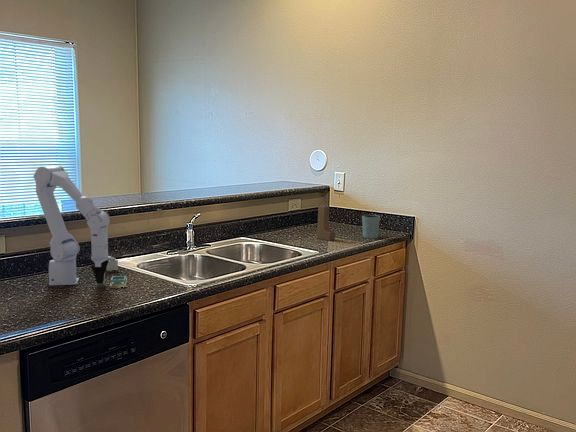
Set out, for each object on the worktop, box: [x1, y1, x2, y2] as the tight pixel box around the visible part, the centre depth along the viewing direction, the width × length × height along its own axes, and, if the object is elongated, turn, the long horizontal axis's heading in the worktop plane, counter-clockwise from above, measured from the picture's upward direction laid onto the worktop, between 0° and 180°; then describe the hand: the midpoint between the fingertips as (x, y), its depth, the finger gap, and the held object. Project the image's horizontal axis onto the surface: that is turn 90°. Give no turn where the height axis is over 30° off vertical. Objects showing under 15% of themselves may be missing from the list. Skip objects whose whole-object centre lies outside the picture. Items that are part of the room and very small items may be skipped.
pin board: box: [109, 275, 128, 289], centre depth 209 cm, size 6×9×2 cm, turn 13°
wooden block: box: [316, 204, 336, 242], centre depth 302 cm, size 9×4×18 cm, turn 47°
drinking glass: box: [361, 214, 381, 239], centre depth 312 cm, size 10×10×12 cm
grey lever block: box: [106, 257, 119, 272], centre depth 227 cm, size 7×2×8 cm, turn 133°
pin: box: [95, 273, 106, 288], centre depth 206 cm, size 3×3×7 cm
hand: (100, 281), depth 206 cm, fingers open, 5 cm apart
